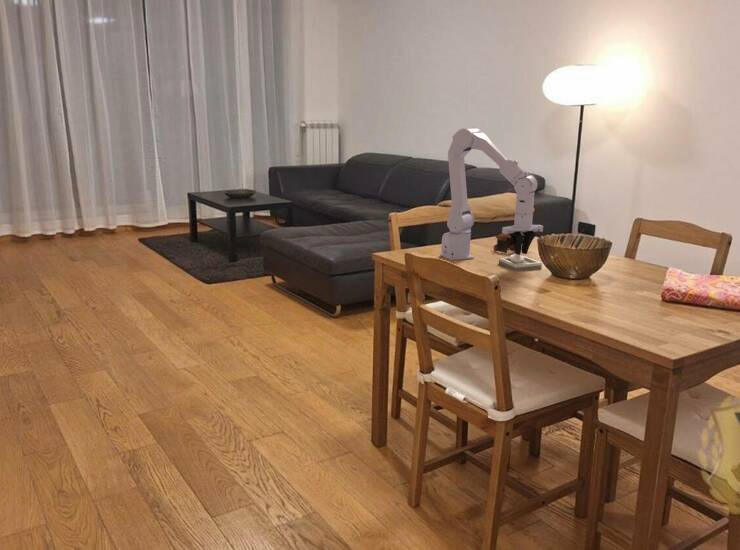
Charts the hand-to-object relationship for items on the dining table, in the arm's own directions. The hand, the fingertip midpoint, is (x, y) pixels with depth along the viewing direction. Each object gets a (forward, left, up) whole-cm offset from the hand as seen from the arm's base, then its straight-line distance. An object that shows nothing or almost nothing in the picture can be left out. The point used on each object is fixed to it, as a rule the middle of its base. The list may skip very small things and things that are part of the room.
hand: (520, 253), depth 217 cm
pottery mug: (+9, +21, -5) cm, 23 cm away
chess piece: (0, +3, -3) cm, 4 cm away
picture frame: (0, 0, -4) cm, 4 cm away
